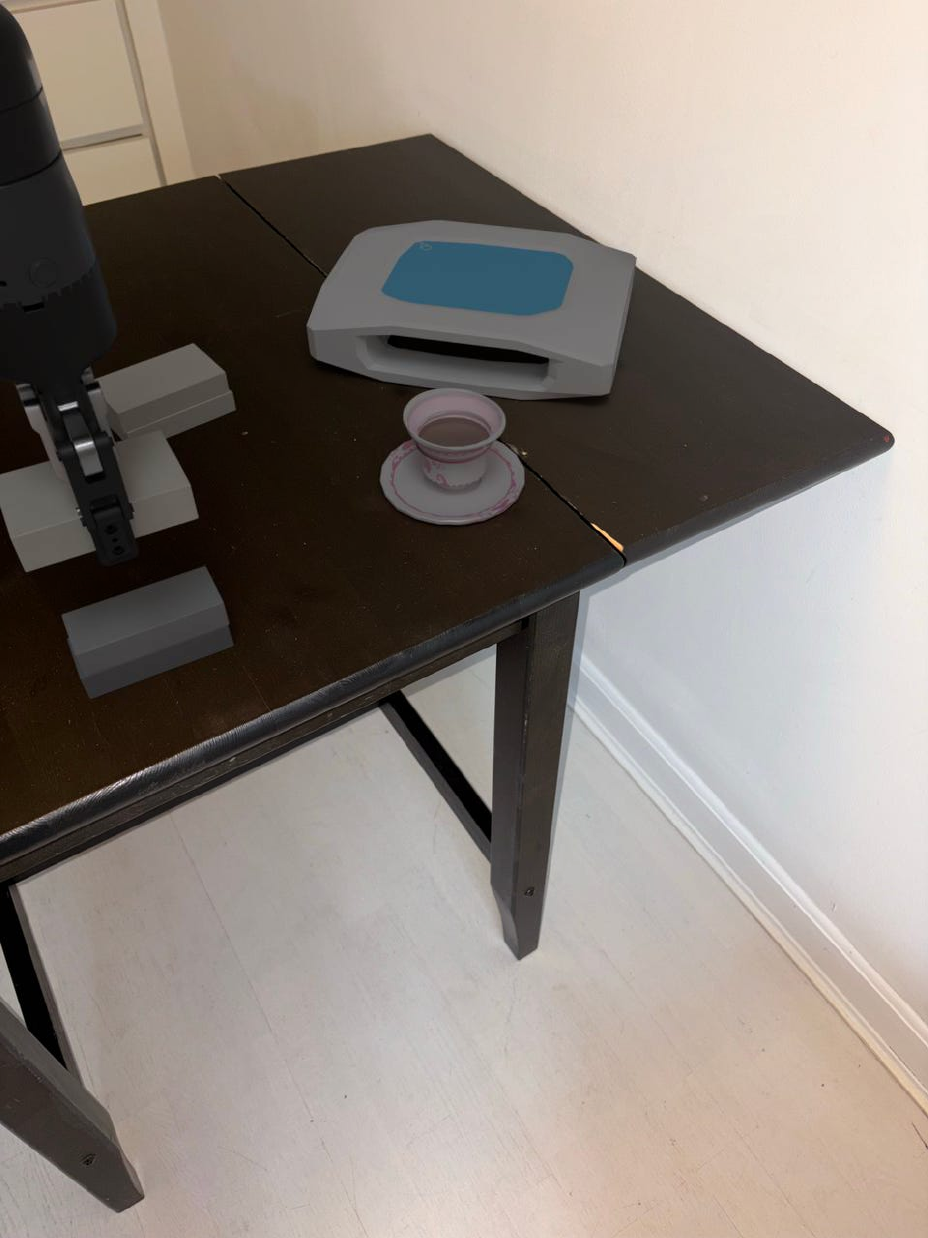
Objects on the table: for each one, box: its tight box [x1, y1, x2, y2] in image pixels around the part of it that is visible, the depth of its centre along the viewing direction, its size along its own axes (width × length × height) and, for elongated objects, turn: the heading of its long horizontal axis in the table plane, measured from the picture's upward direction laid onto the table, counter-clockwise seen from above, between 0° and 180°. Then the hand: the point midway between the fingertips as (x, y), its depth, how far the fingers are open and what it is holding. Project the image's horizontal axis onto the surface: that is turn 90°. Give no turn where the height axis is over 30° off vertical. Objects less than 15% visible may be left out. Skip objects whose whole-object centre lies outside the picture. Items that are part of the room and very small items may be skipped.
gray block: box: [61, 565, 235, 700], centre depth 64 cm, size 10×4×4 cm, turn 118°
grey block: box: [94, 342, 237, 441], centre depth 84 cm, size 10×6×4 cm, turn 128°
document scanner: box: [306, 219, 638, 401], centre depth 92 cm, size 21×28×6 cm
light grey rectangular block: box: [0, 430, 200, 573], centre depth 56 cm, size 10×6×3 cm, turn 118°
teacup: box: [379, 388, 525, 526], centre depth 77 cm, size 12×12×6 cm
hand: (106, 524), depth 57 cm, fingers closed on light grey rectangular block, 6 cm apart
